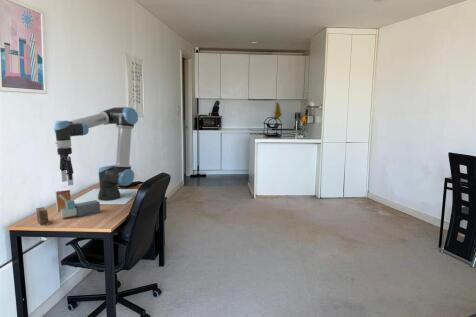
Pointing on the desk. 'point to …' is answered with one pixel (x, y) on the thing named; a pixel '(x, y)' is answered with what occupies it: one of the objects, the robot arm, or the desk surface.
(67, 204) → the teal-ended white column
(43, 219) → the socket
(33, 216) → the desk surface
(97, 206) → the grey rectangular block
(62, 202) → the small box
